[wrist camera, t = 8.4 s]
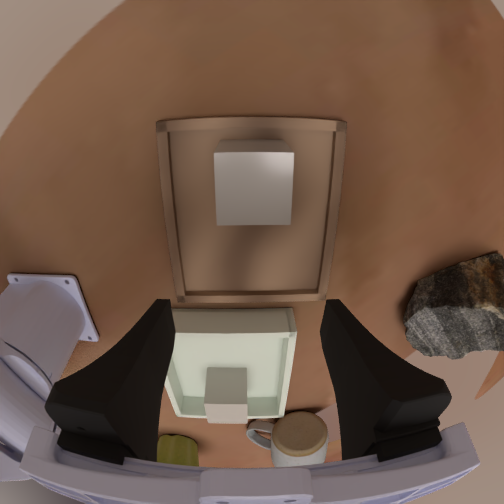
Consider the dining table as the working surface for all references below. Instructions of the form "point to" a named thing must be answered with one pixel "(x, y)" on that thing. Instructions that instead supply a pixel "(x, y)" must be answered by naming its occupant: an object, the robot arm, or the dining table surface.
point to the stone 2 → (253, 182)
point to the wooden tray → (250, 236)
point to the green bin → (232, 356)
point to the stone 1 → (226, 395)
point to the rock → (458, 309)
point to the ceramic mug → (293, 439)
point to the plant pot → (177, 450)
